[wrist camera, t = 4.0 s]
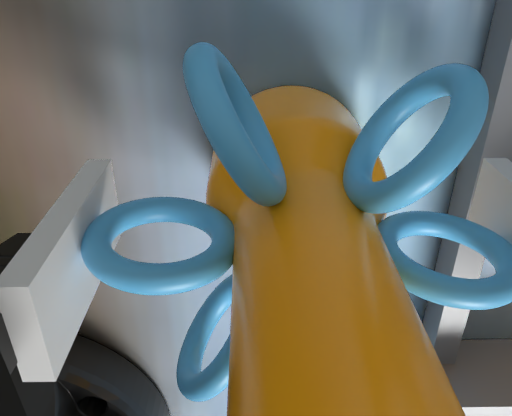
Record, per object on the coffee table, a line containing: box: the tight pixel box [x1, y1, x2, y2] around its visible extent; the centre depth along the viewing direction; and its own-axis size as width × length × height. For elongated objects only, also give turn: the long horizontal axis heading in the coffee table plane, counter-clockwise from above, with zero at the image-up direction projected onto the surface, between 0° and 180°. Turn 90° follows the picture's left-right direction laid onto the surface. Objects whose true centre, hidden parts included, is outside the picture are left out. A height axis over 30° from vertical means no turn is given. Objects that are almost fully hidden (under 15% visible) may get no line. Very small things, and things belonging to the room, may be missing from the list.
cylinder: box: [81, 42, 512, 416], centre depth 12 cm, size 12×10×15 cm
